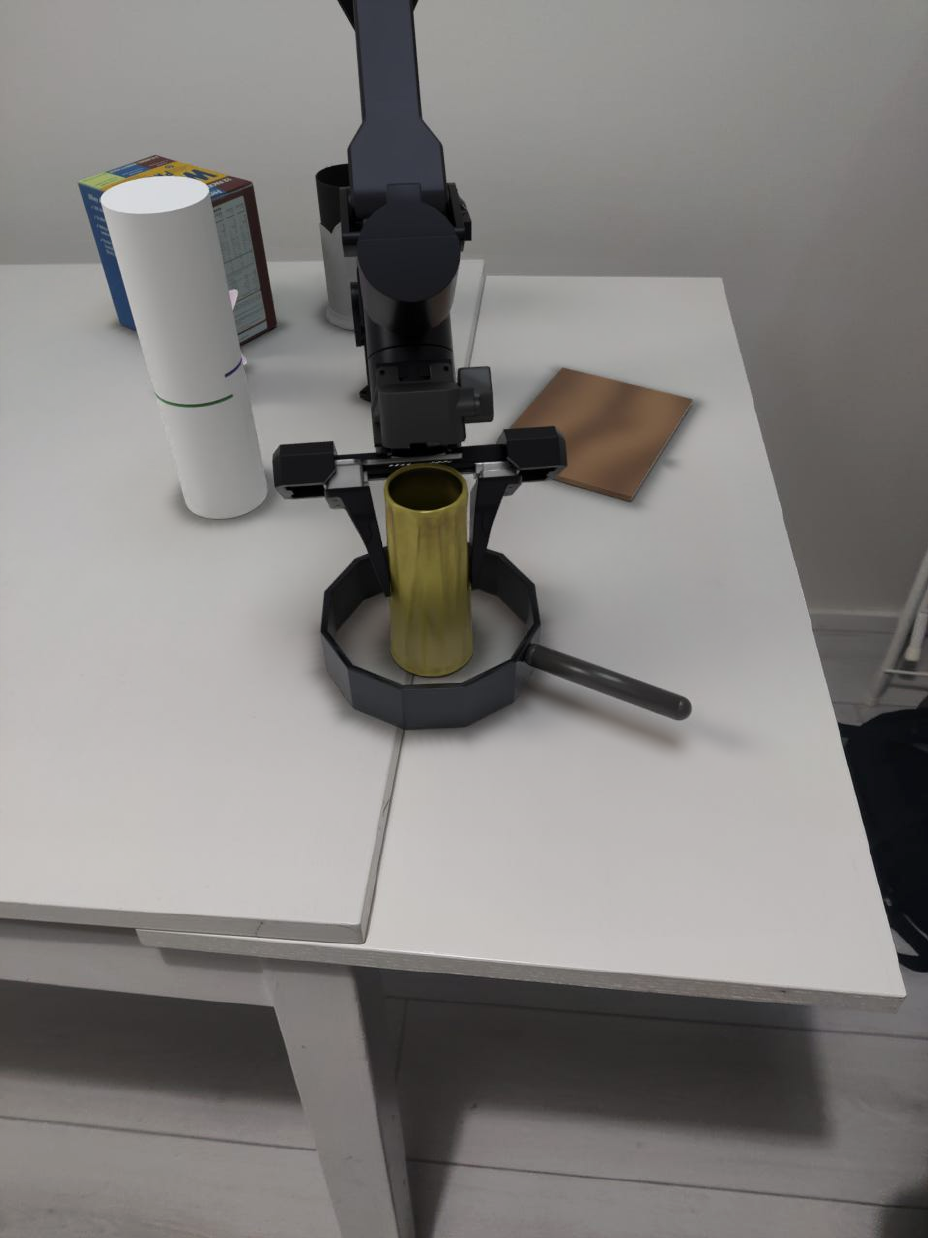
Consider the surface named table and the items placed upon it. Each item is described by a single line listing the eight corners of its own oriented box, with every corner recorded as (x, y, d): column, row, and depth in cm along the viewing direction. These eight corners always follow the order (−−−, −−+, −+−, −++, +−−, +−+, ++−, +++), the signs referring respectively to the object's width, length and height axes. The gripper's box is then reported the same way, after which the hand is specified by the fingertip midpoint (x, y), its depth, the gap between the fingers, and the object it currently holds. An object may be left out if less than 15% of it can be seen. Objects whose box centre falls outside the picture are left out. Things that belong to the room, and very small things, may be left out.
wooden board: (485, 459, 80) (485, 454, 80) (561, 372, 92) (562, 366, 91) (630, 502, 76) (631, 496, 75) (691, 404, 87) (692, 398, 87)
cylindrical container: (283, 481, 78) (230, 184, 60) (236, 527, 73) (163, 220, 56) (217, 462, 80) (147, 170, 63) (167, 505, 76) (77, 203, 58)
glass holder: (339, 335, 97) (323, 194, 87) (303, 285, 107) (285, 152, 96) (412, 321, 100) (405, 181, 89) (371, 273, 109) (360, 142, 99)
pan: (286, 680, 61) (278, 640, 58) (395, 556, 71) (392, 517, 68) (645, 830, 53) (655, 792, 50) (714, 666, 62) (726, 626, 59)
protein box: (187, 292, 106) (154, 152, 95) (279, 326, 99) (255, 180, 88) (117, 324, 100) (73, 180, 89) (210, 363, 93) (175, 212, 82)
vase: (411, 689, 61) (401, 528, 51) (376, 634, 64) (360, 473, 54) (489, 659, 63) (493, 499, 53) (450, 607, 66) (447, 448, 56)
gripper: (248, 325, 49) (272, 602, 49) (574, 306, 51) (597, 575, 51) (275, 380, 60) (294, 606, 60) (541, 364, 62) (560, 584, 62)
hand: (431, 593), depth 58 cm, fingers closed on vase, 5 cm apart
